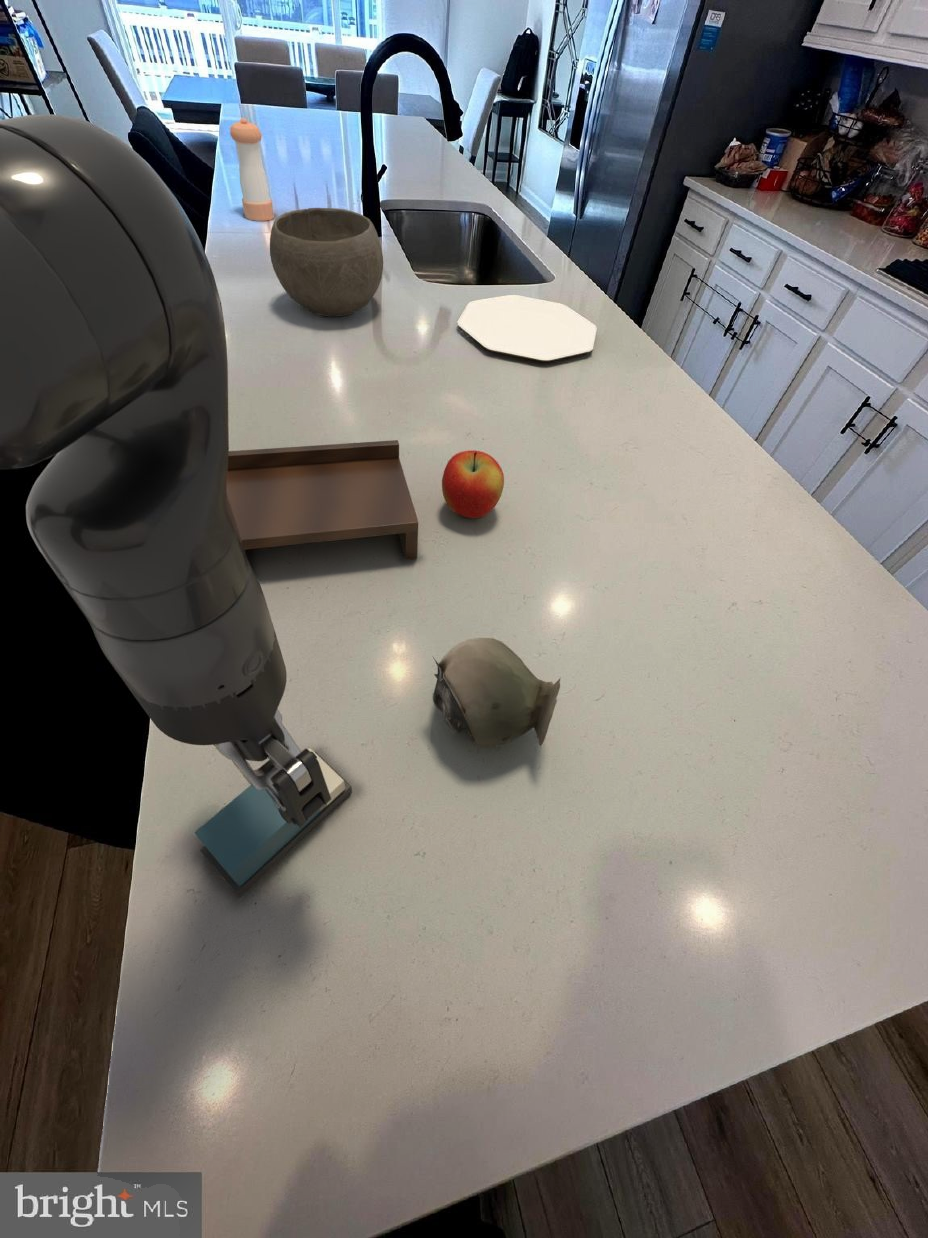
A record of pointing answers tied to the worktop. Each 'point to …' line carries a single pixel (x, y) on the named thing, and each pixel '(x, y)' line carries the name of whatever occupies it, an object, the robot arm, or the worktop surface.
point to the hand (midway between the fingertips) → (261, 772)
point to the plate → (528, 328)
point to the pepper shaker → (252, 171)
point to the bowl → (327, 259)
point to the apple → (472, 483)
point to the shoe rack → (321, 494)
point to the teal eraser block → (259, 832)
